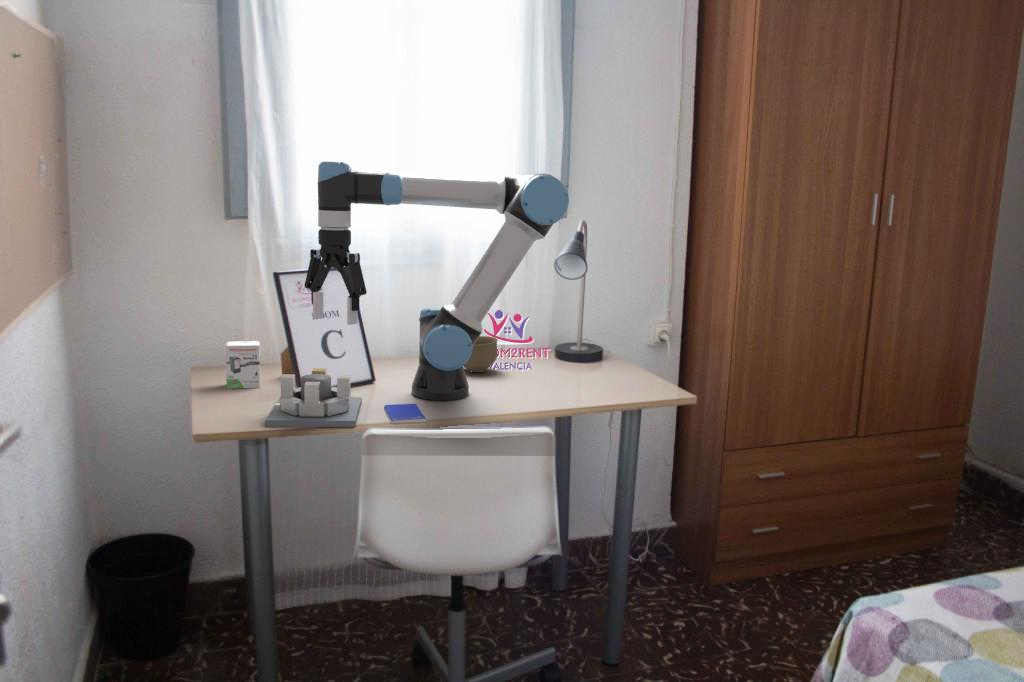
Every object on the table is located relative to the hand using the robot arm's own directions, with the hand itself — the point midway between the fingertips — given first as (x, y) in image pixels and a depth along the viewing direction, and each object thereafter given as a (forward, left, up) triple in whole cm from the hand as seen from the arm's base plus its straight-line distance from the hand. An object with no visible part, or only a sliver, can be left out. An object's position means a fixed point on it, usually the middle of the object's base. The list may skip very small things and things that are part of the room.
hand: (335, 321), depth 197 cm
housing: (+4, +5, -22) cm, 23 cm away
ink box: (+26, -20, -22) cm, 39 cm away
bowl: (-37, -40, -22) cm, 59 cm away
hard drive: (-17, +5, -23) cm, 29 cm away
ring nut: (+4, +5, -20) cm, 21 cm away
